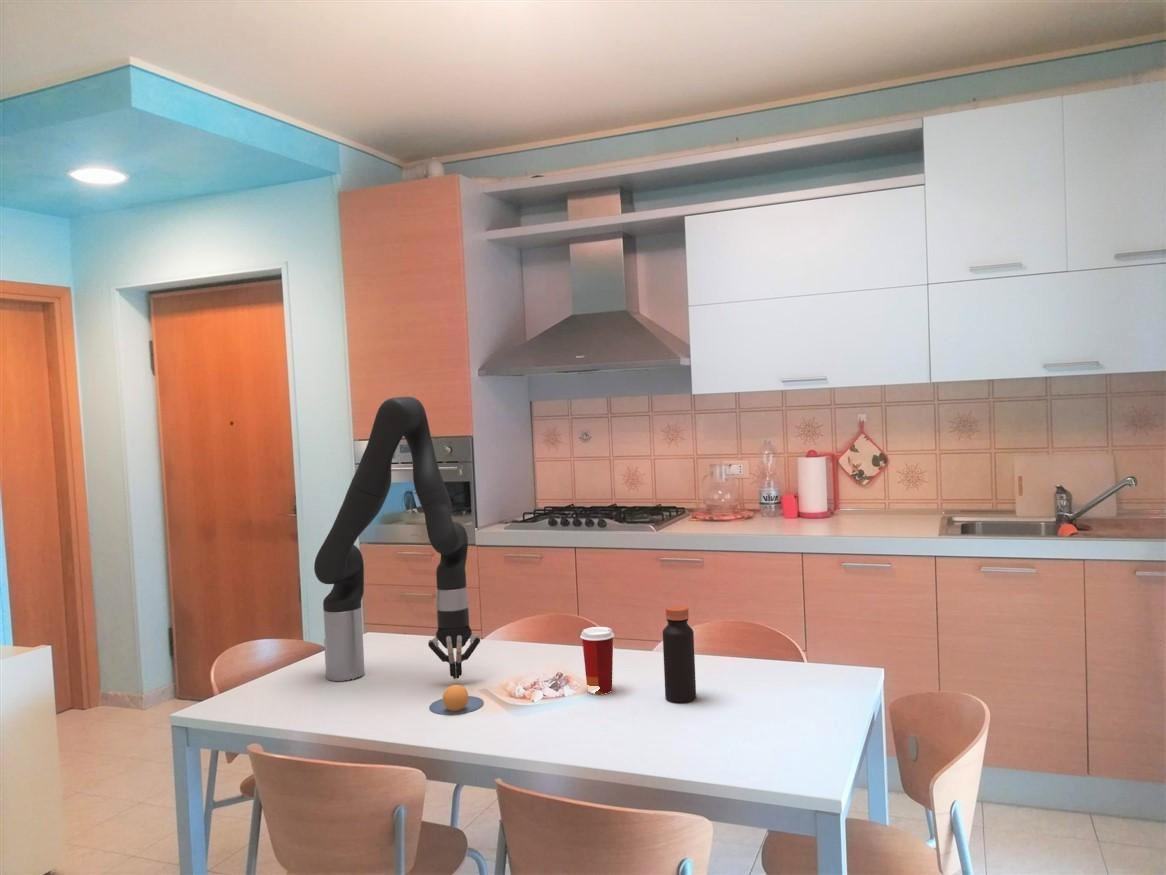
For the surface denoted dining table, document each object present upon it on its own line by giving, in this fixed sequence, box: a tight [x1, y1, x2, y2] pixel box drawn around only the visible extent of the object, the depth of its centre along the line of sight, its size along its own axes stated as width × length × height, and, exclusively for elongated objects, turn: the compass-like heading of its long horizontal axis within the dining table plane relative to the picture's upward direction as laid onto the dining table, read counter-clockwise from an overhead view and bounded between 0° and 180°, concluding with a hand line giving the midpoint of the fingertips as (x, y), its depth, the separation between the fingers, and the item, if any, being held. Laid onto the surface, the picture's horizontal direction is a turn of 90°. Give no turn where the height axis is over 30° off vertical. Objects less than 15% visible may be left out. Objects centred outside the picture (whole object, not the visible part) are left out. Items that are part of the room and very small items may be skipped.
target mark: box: [428, 695, 485, 716], centre depth 191 cm, size 12×12×1 cm
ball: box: [442, 684, 470, 712], centre depth 188 cm, size 6×6×6 cm
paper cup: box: [579, 626, 615, 695], centre depth 197 cm, size 8×8×14 cm
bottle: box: [662, 605, 697, 704], centre depth 189 cm, size 7×7×20 cm
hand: (456, 677), depth 207 cm, fingers closed
